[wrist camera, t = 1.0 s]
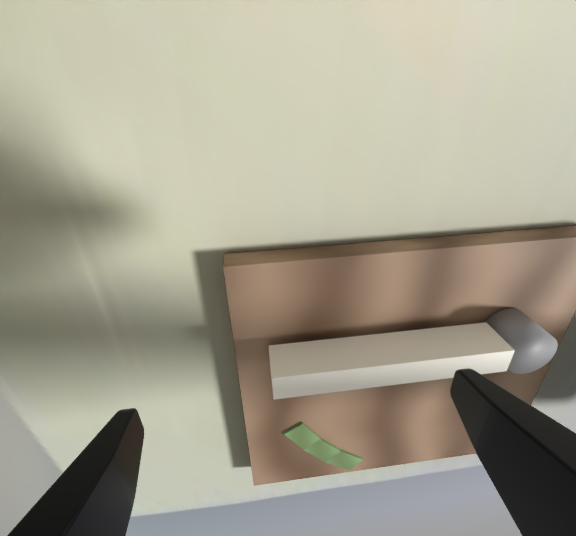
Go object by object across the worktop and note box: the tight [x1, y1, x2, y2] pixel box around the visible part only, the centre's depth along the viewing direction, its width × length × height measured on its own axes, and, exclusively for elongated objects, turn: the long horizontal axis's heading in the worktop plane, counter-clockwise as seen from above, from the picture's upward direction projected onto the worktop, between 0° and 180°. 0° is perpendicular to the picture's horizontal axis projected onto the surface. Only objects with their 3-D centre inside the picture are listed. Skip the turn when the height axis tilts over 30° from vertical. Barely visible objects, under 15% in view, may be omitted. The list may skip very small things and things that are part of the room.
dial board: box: [223, 226, 576, 485], centre depth 24 cm, size 22×20×2 cm
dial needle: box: [269, 308, 558, 399], centre depth 20 cm, size 16×3×3 cm, turn 92°
